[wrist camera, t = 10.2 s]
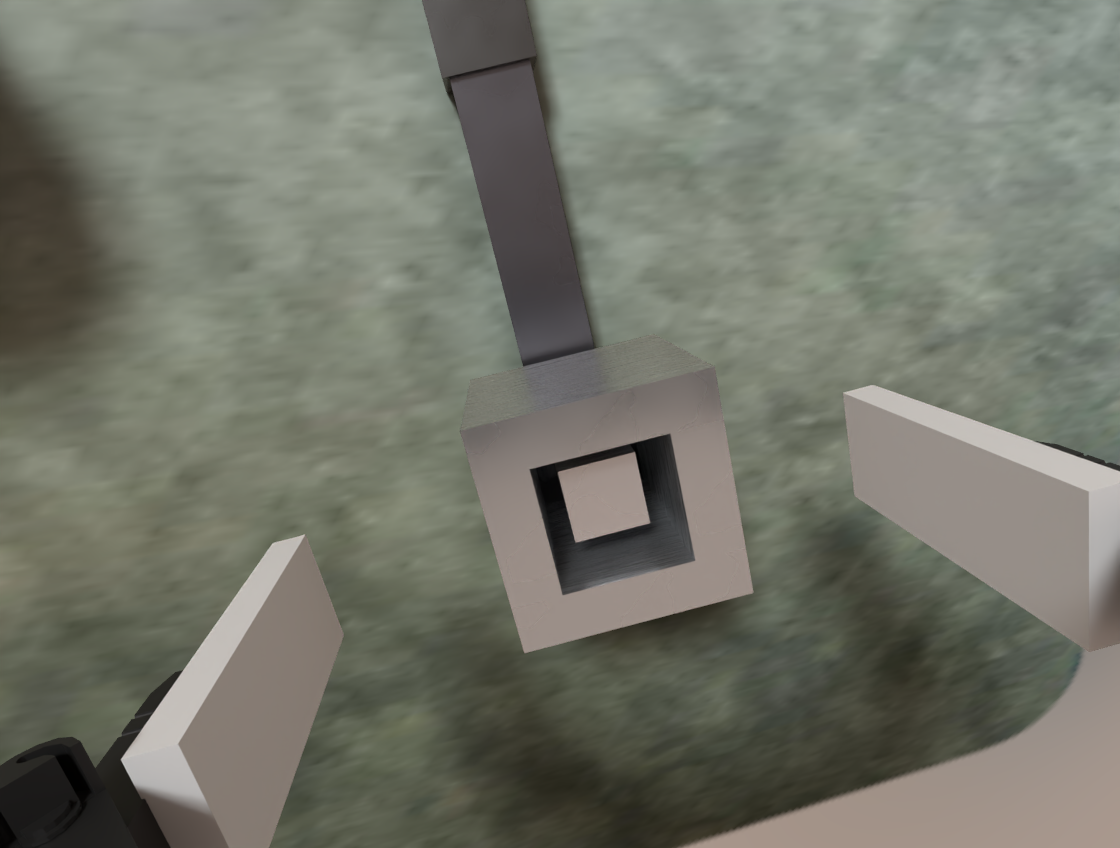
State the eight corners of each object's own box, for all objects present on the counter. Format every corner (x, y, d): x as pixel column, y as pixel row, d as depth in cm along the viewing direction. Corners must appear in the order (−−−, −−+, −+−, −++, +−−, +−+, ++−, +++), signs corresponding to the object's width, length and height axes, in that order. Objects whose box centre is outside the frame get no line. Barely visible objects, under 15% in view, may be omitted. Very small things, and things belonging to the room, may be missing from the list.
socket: (517, 548, 22) (524, 653, 16) (470, 379, 21) (459, 431, 15) (687, 504, 22) (753, 592, 17) (653, 333, 21) (714, 366, 15)
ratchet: (654, 470, 25) (719, 561, 17) (520, 504, 24) (530, 611, 17) (510, -219, 19) (519, -511, 12) (333, -179, 19) (230, -449, 11)
